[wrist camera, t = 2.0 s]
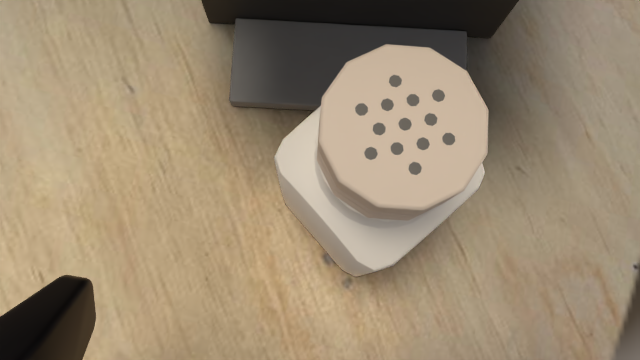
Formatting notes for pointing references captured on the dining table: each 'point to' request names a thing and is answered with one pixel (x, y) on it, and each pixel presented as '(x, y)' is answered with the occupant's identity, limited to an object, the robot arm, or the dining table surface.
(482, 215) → the dining table surface
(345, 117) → the pepper shaker
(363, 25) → the coffee maker
